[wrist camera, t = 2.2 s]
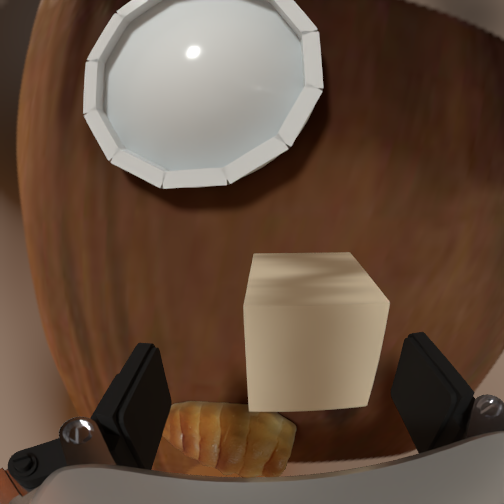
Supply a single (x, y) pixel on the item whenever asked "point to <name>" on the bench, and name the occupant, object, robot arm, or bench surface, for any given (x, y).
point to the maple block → (311, 332)
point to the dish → (201, 87)
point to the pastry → (231, 437)
